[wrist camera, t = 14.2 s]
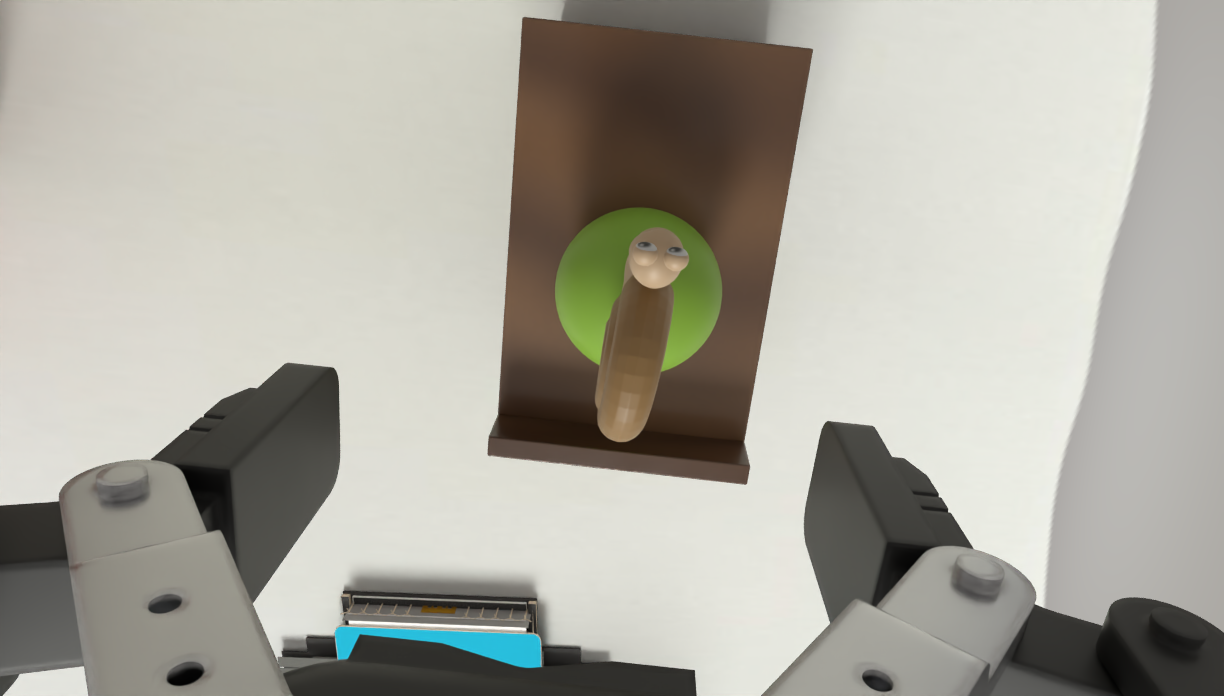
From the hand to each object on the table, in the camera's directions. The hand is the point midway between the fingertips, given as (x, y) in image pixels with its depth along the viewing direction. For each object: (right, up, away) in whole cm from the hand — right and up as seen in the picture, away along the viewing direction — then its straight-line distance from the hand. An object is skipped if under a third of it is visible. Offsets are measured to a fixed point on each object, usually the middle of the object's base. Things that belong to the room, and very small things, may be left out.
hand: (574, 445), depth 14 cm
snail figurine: (+2, +5, +16) cm, 17 cm away
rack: (+2, +9, +27) cm, 29 cm away
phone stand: (-10, -19, +38) cm, 43 cm away
